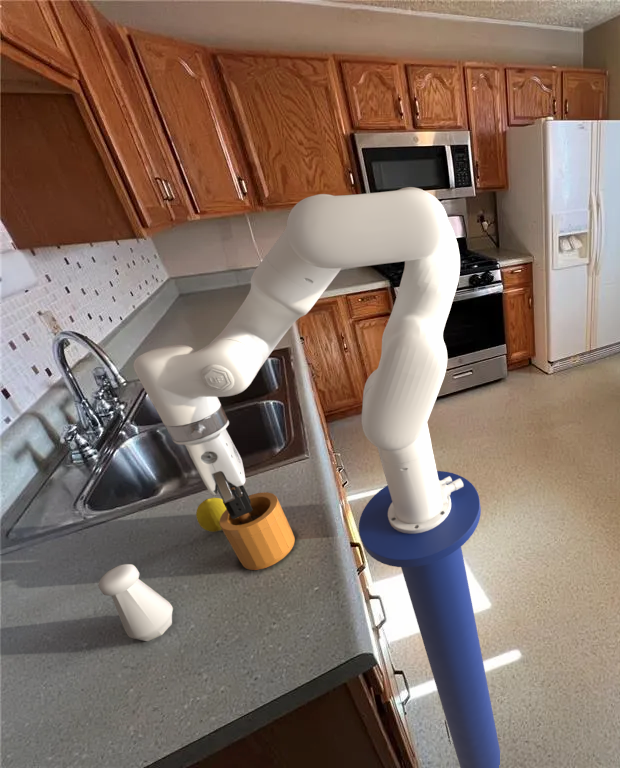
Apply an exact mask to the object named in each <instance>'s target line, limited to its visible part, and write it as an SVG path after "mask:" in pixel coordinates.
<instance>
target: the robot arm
mask: <svg viewBox="0 0 620 768" xmlns="http://www.w3.org/2000/svg"><path fill="white" fill-rule="evenodd" d="M401 262H404V268H403V273H402V276H401V279H400V284H399V287H398V291H397V295H396V298H395V300H394V304H393V307H392V309H391V313H390V315H389V318H388V321H387V323H386V325H385V328H384V329H383V333H382V337H381V354H380V359H379V363H378V366H377V368H376V369H375V370H374V371H372V373H371V374H369V376H368V378H367V379H366V382H365V384H364V388H363V393H362V408H361V418H360V419H361V427H362V431H363V433H364V436H365V437H366V439H367V441H369V442H370V443H371V444H372V445H373V446H375V447H376V448H377V452H378V455H379V459H380V462H381V466H382V469H383V470H382V471H383V473H384V478H385V480H386V484H387V485H388V488H389V491H390V495H391V499H392V503H391V505H390V507H389V510H388V519H389V522H390V524H391V526H392V527H393V528H394V529H396V530H397V531H399V532H402V533H408V534H416V533H422V532H425V531H428V530H430V529H433V528H434V527H436V526H438V525H439V524H440V523H441V522H443V521H444V520H445V518H446V517H447V516H448V514H449V512H450V509H451V499H450V496H449V495H451V492H453V491H455V490H458V489H460V488H462V487H463V486H464V485H463V482H462V480H461V479H460V478H459V479H457V480H455V481H453V482H452V479H451V477H450V476H448V477H446V478H444V479H443V480H441V481H440V480H438V475H437V471H438V470H437V465H436V460H435V456H434V451H433V450H434V449H433V446H432V440H431V435H430V429H429V425H428V421H429V419H430V416H431V413H432V411H433V408H434V406H435V403H436V401H437V397H438V396H439V393H440V390H441V387H442V384H443V382H444V379H445V375H446V372H447V366H448V350H447V345H446V343H445V341H444V330H445V327H446V323H447V320H448V318H449V316H450V315H449V314H450V311H451V308H452V304H453V302H454V297H455V295H456V291H457V288H458V284H459V280H460V274H461V273H460V272H461V255H460V249H459V243H458V241H457V237H456V235H455V231H454V229H453V227H452V225H451V223H450V221H449V217H448V214H447V212H446V209H445V207H444V206H443V204H442V202H440V200H439V199H438V198H437V197H436V196H435V195H433V194H432V193H430V192H429V191H426V190H423V189H422V188H419V187H414V186H409V187H408V186H407V187H402V188H400V189H397V190H389V191H380V192H368V193H359V194H347V195H345V194H344V195H333V194H328V193H327V194H326V193H320V194H319V193H318V194H314V195H311V196H307V197H305V198H303V199H301V200H300V201H298V202H297V203H296V204H295V205H294V206H293V207H292V208H291V209H290V212H289V214H288V217H287V220H286V227H285V228H284V230H283V231H282V233H281V234H280V236H278V238H277V240H276V241H275V243H274V244H273V246H272V247H271V248H270V250H269V251H268V253H267V254H266V255H265V256H264V258H263V259H262V261H261V262H260V263H259V264H258V265H257V267H256V268H255V269H254V271H253V273H252V275H251V277H250V289H249V292H248V293H247V295H246V298H245V299H244V301H243V302H242V303H241V305H240V306H239V308H238V309H237V311H236V312H235V313H234V315H233V316H232V318H231V319H230V320H229V322H228V323H227V325H226V326H225V327H224V328H223V330H221V332H220V333H218V335H217V336H216V337H214V338H213V339H212V340H211V341H210V342H209V343H208V344H207V345H205V346H204V347H202V348H201V349H198V350H195V349H194V348H193V347H192V346H190V345H187V344H170V345H165V346H161V347H156V348H154V349H150V350H148V351H146V352H144V353H142V354H140V355H139V356H137V357H136V358H135V360H134V362H133V370H134V372H135V373H136V376H137V378H138V380H139V382H140V383H141V385H142V387H143V389H144V391H145V393H146V395H147V396H148V398H149V400H150V401H151V403H152V405H153V407H154V409H155V410H156V412H157V414H158V416H159V418H160V420H161V421H162V423H163V425H164V427H165V429H166V430H167V433H168V435H169V436H170V438H171V440H172V442H173V443H174V444H175V445H179V446H185V448H186V450H187V453H188V454H189V458H190V459H191V461H192V463H193V465H194V466H195V469H196V471H197V472H198V475H199V476H200V478H201V480H202V483H203V484H204V486H205V487H206V489H207V491H208V492H209V494H210V495H211V496H217V495H218V494H219V496H220V499H222V500H223V503H224V505H225V507H226V509H227V511H228V513H229V515H230V516H231V518H232V519H235V518H237V517H240V516H242V515H244V514H247V513H249V512H251V511H252V507H251V505H250V503H251V501H250V498H249V494H248V491H247V490H246V488H245V483H246V476H245V475H246V474H245V468H244V464H243V460H242V457H241V455H240V453H239V451H238V449H237V448H236V446H235V444H234V442H233V440H232V438H231V436H230V434H229V432H228V429H227V428H228V426H229V425H230V421H229V418H228V416H227V415H226V412H225V410H224V408H223V405H222V403H221V402H220V399H219V398H224V397H225V398H226V397H232V396H235V395H238V394H241V393H243V392H244V391H245V390H247V389H248V387H250V385H251V384H252V382H253V381H254V379H255V378H256V376H257V374H258V373H259V371H260V369H261V368H262V367H263V365H264V364H265V362H266V361H267V359H268V358H269V357H270V355H271V354H272V352H273V351H274V350H275V348H276V347H277V346H278V344H279V343H280V341H282V339H283V337H285V335H286V334H287V332H289V330H290V329H291V328H292V326H293V325H294V324H295V323H296V322H297V320H298V319H300V318H302V317H304V316H306V315H307V314H308V313H309V312H310V311H311V309H312V308H313V307H314V306H315V304H317V301H318V300H319V299H320V298H321V296H322V295H323V293H324V292H325V291H326V290H327V288H328V287H329V286H330V285H331V284H332V282H333V280H334V279H335V278H336V277H337V275H338V274H339V273H340V271H341V270H342V269H347V268H359V267H368V266H377V265H384V264H393V263H401ZM451 482H452V483H451ZM449 483H450V484H449ZM447 484H448V485H447ZM233 487H234V488H235V489H233V490H231V488H233Z"/></svg>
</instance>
